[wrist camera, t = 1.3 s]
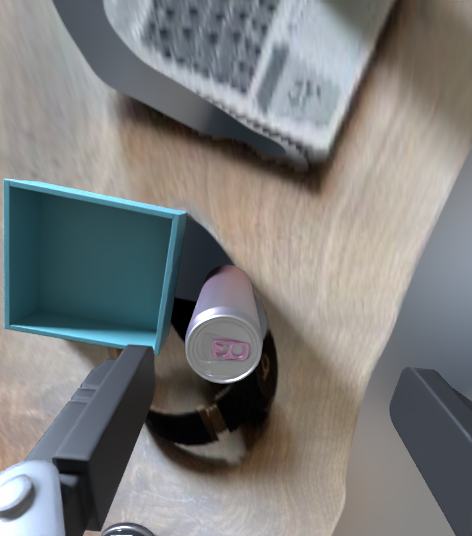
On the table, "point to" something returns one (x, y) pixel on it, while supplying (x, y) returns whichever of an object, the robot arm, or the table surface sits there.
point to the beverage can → (224, 328)
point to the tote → (89, 265)
